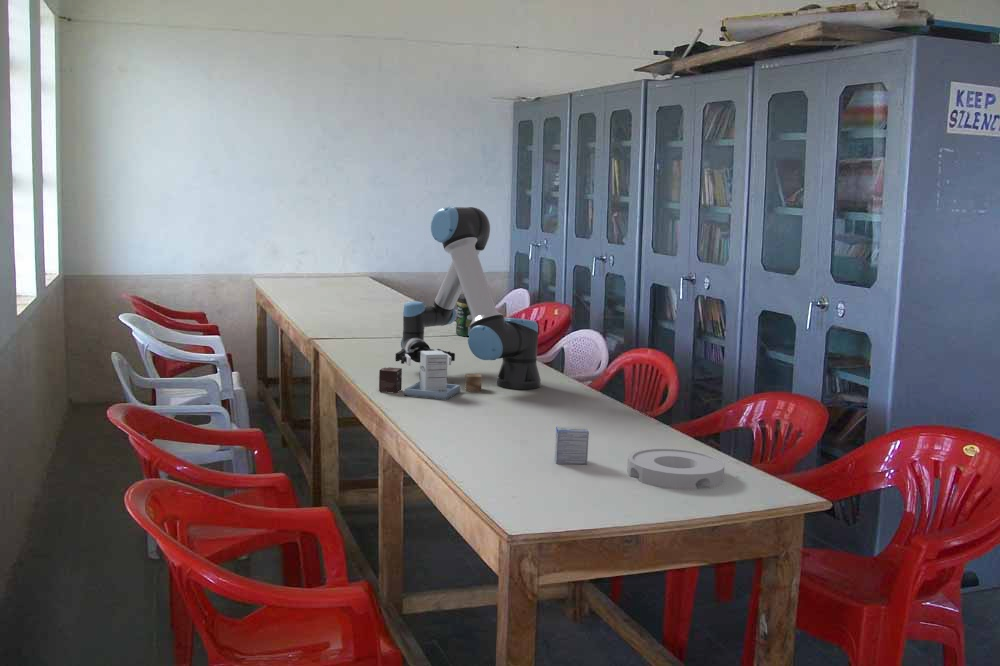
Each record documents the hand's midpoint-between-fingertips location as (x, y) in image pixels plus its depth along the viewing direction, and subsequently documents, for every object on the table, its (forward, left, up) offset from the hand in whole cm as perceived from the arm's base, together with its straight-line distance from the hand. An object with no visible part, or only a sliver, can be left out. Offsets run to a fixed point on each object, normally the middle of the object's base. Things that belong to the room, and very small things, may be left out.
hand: (430, 361), depth 325 cm
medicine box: (-61, +66, -10) cm, 90 cm away
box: (+11, +7, -10) cm, 16 cm away
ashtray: (-87, +67, -10) cm, 110 cm away
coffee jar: (+25, -119, -10) cm, 122 cm away
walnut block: (-13, -7, -10) cm, 18 cm away
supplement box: (-3, +5, -9) cm, 10 cm away
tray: (-3, +5, -10) cm, 11 cm away
